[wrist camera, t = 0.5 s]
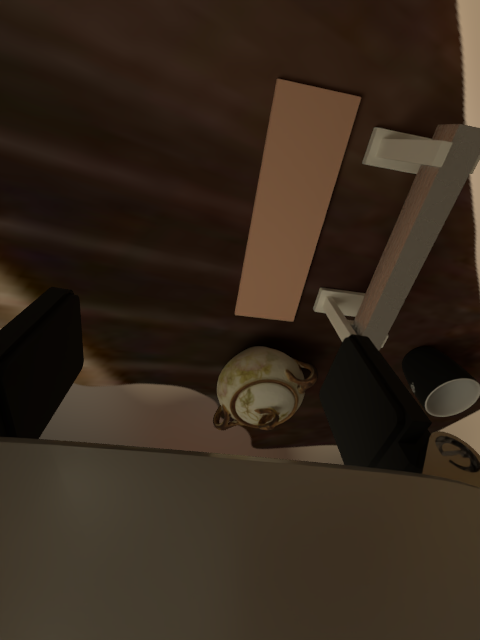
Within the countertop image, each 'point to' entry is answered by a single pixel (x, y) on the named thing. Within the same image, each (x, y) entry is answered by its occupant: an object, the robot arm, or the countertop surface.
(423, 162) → the shelf brackets
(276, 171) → the terracotta mat
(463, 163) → the steel rail
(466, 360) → the countertop surface
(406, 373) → the mug
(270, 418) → the sugar bowl
